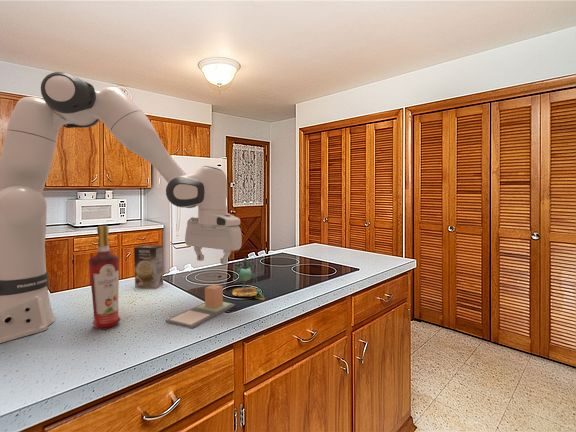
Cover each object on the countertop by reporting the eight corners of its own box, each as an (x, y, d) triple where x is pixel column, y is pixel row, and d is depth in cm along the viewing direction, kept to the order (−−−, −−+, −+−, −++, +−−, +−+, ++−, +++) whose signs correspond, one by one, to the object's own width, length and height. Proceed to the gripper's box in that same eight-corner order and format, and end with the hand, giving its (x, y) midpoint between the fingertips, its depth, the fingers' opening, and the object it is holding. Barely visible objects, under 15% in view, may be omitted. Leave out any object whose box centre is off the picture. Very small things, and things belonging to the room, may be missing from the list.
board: (192, 328, 90) (192, 325, 90) (165, 322, 94) (165, 319, 94) (235, 306, 108) (235, 303, 108) (210, 301, 112) (210, 299, 112)
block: (215, 308, 103) (214, 289, 103) (205, 306, 105) (204, 287, 105) (222, 304, 107) (222, 286, 107) (213, 302, 109) (212, 284, 108)
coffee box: (134, 288, 128) (132, 247, 127) (142, 283, 135) (141, 244, 133) (156, 288, 127) (155, 247, 126) (164, 284, 134) (163, 245, 132)
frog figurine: (246, 305, 110) (243, 260, 110) (224, 296, 124) (222, 257, 125) (271, 299, 115) (268, 257, 115) (247, 292, 130) (244, 254, 130)
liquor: (117, 318, 97) (113, 224, 95) (124, 326, 92) (121, 226, 90) (89, 325, 92) (84, 226, 90) (94, 333, 87) (90, 228, 85)
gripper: (180, 217, 105) (180, 260, 106) (232, 220, 96) (231, 267, 97) (194, 216, 111) (194, 257, 112) (244, 219, 102) (244, 264, 103)
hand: (212, 262), depth 104 cm, fingers open, 8 cm apart
